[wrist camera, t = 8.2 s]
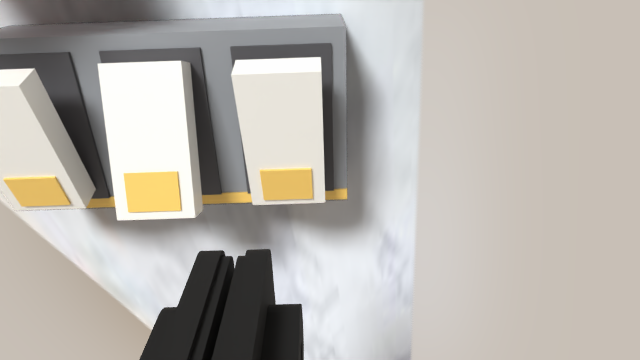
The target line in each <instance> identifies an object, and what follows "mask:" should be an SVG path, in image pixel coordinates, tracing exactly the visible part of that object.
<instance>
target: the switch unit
mask: <svg viewBox="0 0 640 360" xmlns="http://www.w3.org/2000/svg"><path fill="white" fill-rule="evenodd" d="M308 57H321V74H322V108H323V142H324V176H325V201H327V200H347V96H346V25H345V22H344V20H343V18H342V16H341V14H321V15H292V16H264V17H236V18H208V19H180V20H152V21H124V22H96V23H68V24H40V25H12V26H6V27H2V28H0V70H5V69H34V68H35V70H36V72H37V74H38V76H39V78H40V80H41V82H42V84H43V86H44V88H45V90H46V92H47V94H48V96H49V98H50V100H51V102H52V104H53V106H54V108H55V110H56V111H57V113H58V115H59V117H60V119H61V121H62V123H63V125H64V127H65V129H66V131H67V133H68V135H69V137H70V139H71V141H72V143H73V145H74V147H75V149H76V151H77V153H78V155H79V157H80V159H81V161H82V163H83V165H84V167H85V169H86V171H87V173H88V175H89V177H90V179H91V181H92V182H93V184H94V186H95V188H96V190H95V192H94V194H93V196H92V198H91V200H90V202H89V204H88V206H87V208H84V209H90V208H116V207H115V199H114V191H113V183H112V175H111V167H110V159H109V151H108V143H107V135H106V128H105V120H104V112H103V104H102V96H101V88H100V80H99V72H98V64H100V63H128V62H157V61H185V62H189V63H190V66H191V77H192V89H193V100H194V112H195V123H196V135H197V146H198V157H199V169H200V180H201V192H202V203H203V205H209V204H238V203H252V197H251V191H250V185H249V179H248V173H247V167H246V161H245V155H244V149H243V143H242V137H241V131H240V125H239V119H238V113H237V107H236V101H235V95H234V89H233V83H232V77H231V74H232V70H233V67H234V64H235V60H251V59H280V58H308ZM54 210H61V209H54ZM25 211H31V210H25Z"/></svg>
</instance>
